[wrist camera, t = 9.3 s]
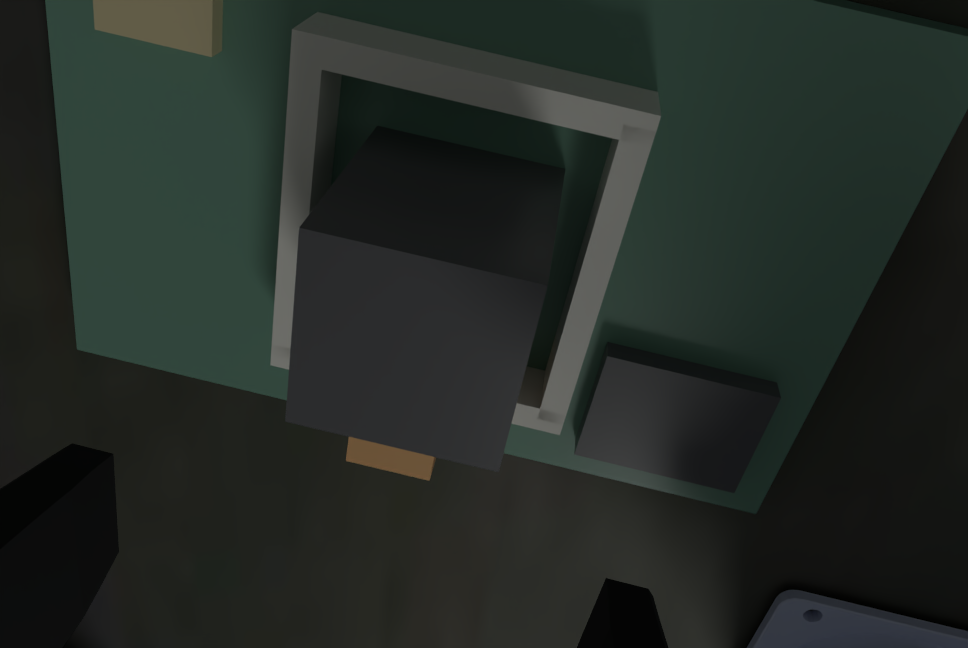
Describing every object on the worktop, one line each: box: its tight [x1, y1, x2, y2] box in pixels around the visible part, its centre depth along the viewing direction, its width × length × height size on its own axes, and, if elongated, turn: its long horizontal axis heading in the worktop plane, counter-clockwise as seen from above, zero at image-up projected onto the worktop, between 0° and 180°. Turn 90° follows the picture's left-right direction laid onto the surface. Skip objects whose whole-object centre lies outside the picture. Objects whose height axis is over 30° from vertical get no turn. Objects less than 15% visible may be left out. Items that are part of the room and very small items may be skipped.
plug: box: [285, 126, 565, 481], centre depth 16 cm, size 4×5×5 cm
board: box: [45, 0, 968, 514], centre depth 18 cm, size 18×12×2 cm, turn 79°
